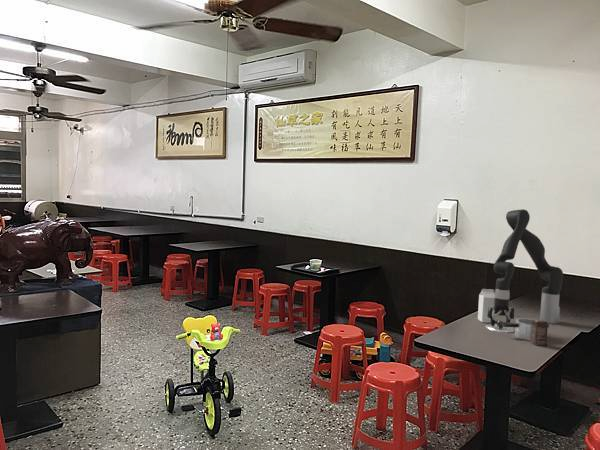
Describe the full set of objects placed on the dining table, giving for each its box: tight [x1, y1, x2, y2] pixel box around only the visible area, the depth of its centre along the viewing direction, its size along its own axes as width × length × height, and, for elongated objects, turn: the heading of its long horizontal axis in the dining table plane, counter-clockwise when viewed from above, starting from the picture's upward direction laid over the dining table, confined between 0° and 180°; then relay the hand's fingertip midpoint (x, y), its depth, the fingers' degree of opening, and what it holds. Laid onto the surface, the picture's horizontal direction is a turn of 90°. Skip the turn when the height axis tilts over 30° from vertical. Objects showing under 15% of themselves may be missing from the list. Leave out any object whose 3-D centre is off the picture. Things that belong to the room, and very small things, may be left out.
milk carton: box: [477, 288, 495, 324], centre depth 271 cm, size 7×7×19 cm
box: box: [530, 319, 549, 346], centre depth 231 cm, size 6×4×12 cm
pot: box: [502, 317, 550, 341], centre depth 243 cm, size 25×14×8 cm, turn 95°
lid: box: [485, 320, 515, 334], centre depth 258 cm, size 15×15×4 cm
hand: (500, 325), depth 258 cm, fingers open, 8 cm apart
